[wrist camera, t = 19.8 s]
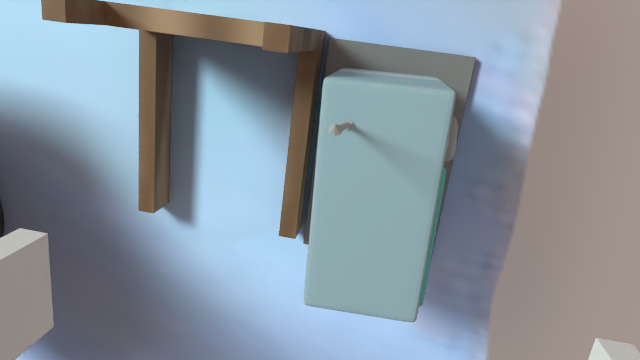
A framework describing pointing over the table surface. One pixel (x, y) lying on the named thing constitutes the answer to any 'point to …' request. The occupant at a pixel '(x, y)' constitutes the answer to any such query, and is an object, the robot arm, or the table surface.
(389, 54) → the rubber mat
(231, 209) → the table surface
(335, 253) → the radio
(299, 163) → the shelf cradle
